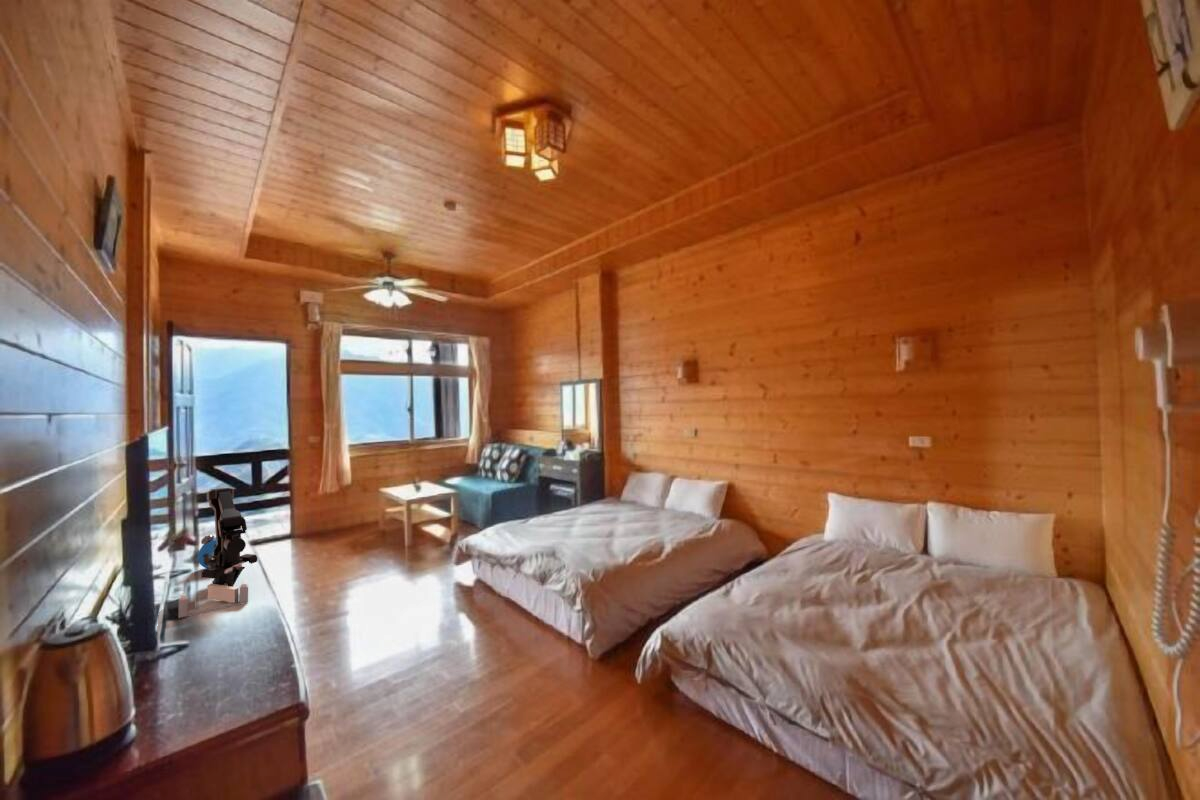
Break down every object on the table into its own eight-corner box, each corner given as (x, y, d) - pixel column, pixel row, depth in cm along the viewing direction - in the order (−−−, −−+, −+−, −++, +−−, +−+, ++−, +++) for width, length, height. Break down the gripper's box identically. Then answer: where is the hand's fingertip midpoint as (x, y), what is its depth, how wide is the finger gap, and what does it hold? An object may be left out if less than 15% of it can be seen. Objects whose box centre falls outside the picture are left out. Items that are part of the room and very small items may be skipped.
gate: (211, 597, 178) (211, 583, 178) (239, 601, 175) (239, 587, 175) (207, 599, 176) (207, 585, 176) (235, 603, 173) (235, 589, 173)
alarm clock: (236, 563, 215) (237, 530, 215) (235, 567, 210) (235, 534, 210) (199, 568, 208) (200, 534, 208) (197, 572, 203) (197, 538, 203)
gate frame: (178, 615, 165) (178, 595, 165) (247, 600, 177) (247, 581, 177) (178, 618, 162) (178, 598, 162) (248, 603, 175) (248, 584, 175)
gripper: (235, 539, 193) (234, 576, 193) (188, 554, 174) (188, 595, 174) (258, 540, 191) (258, 578, 191) (214, 556, 173) (214, 598, 173)
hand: (230, 587), depth 182 cm, fingers closed
